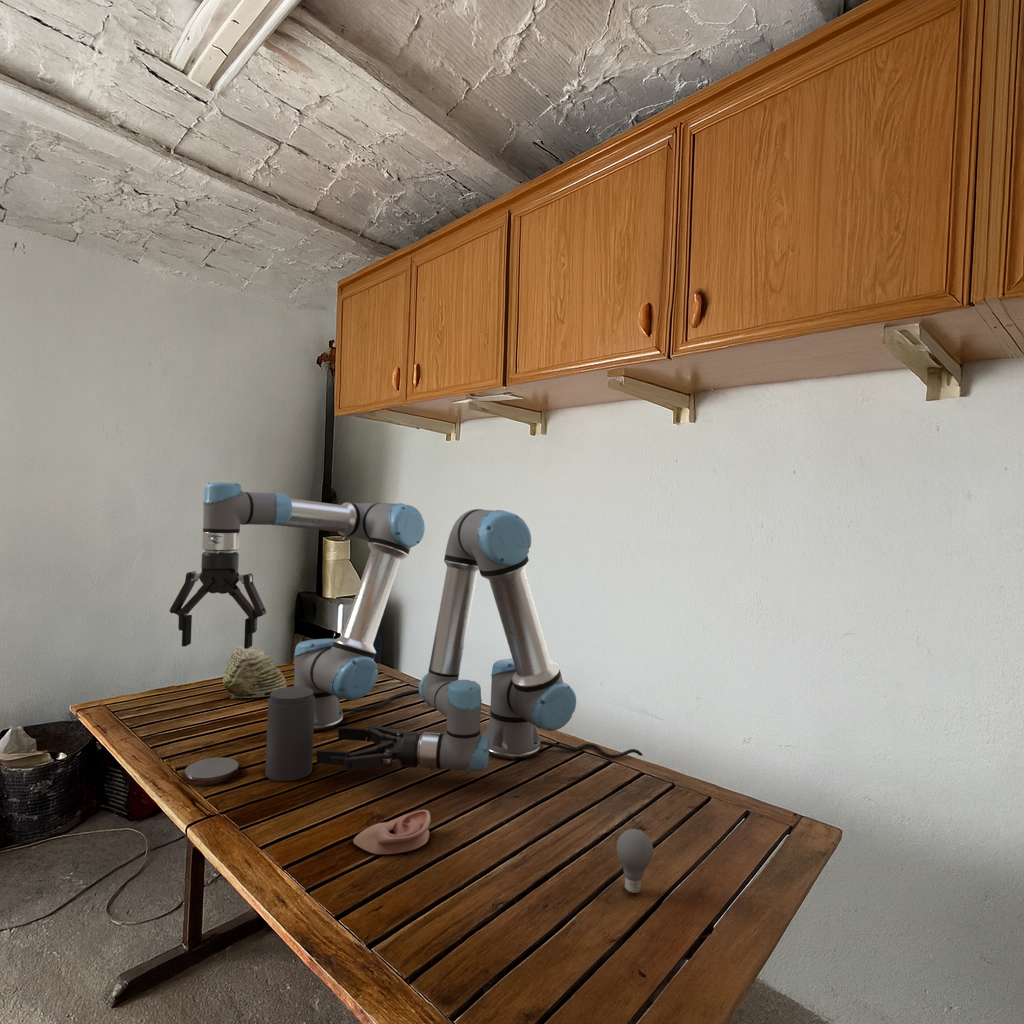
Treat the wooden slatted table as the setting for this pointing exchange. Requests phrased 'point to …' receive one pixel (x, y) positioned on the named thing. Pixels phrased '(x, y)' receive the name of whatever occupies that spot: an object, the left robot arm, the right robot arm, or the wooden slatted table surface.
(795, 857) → the wooden slatted table surface
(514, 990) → the wooden slatted table surface
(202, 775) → the lid
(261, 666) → the fossil
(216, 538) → the left robot arm
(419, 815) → the anatomical model
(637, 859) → the light bulb
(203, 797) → the wooden slatted table surface
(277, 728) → the jar
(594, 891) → the wooden slatted table surface
